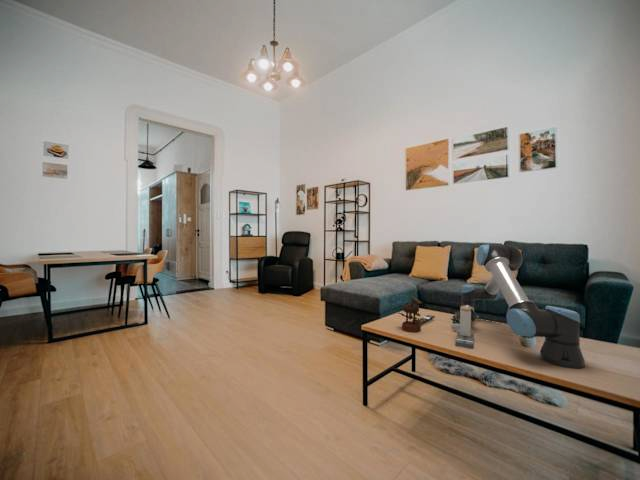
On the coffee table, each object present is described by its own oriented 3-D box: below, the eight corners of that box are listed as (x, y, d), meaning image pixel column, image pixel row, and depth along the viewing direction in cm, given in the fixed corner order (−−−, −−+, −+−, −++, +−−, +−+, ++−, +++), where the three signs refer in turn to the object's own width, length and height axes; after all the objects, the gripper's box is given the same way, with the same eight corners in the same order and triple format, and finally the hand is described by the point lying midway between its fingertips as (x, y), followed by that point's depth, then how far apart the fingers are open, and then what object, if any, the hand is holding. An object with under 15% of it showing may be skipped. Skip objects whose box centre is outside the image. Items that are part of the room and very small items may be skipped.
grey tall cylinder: (460, 332, 156) (460, 305, 156) (470, 334, 153) (471, 307, 153) (459, 335, 151) (460, 307, 151) (470, 336, 148) (471, 309, 148)
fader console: (457, 335, 157) (457, 331, 157) (473, 338, 154) (473, 334, 154) (455, 345, 142) (455, 341, 142) (473, 348, 138) (473, 344, 138)
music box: (426, 330, 166) (426, 296, 165) (418, 336, 158) (417, 300, 157) (403, 324, 177) (402, 292, 175) (393, 329, 169) (393, 296, 168)
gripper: (478, 319, 175) (479, 330, 154) (455, 316, 181) (452, 326, 160) (479, 307, 175) (479, 316, 154) (455, 304, 181) (452, 312, 160)
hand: (465, 321), depth 157 cm, fingers closed
